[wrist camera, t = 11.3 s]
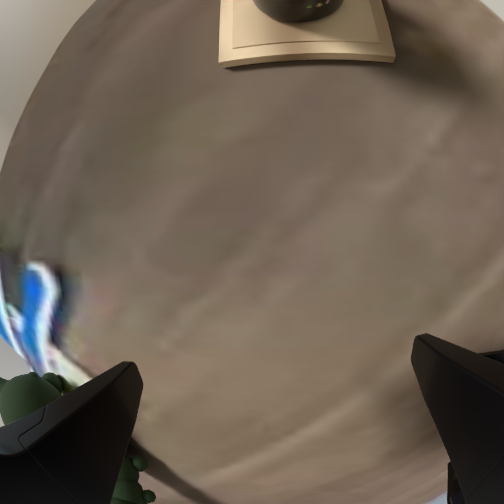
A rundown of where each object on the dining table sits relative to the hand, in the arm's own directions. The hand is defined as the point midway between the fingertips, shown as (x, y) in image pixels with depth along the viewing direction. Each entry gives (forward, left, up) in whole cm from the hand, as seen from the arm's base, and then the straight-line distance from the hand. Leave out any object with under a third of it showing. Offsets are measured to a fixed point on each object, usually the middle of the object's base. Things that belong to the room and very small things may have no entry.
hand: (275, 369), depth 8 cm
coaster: (-1, -21, -11) cm, 24 cm away
